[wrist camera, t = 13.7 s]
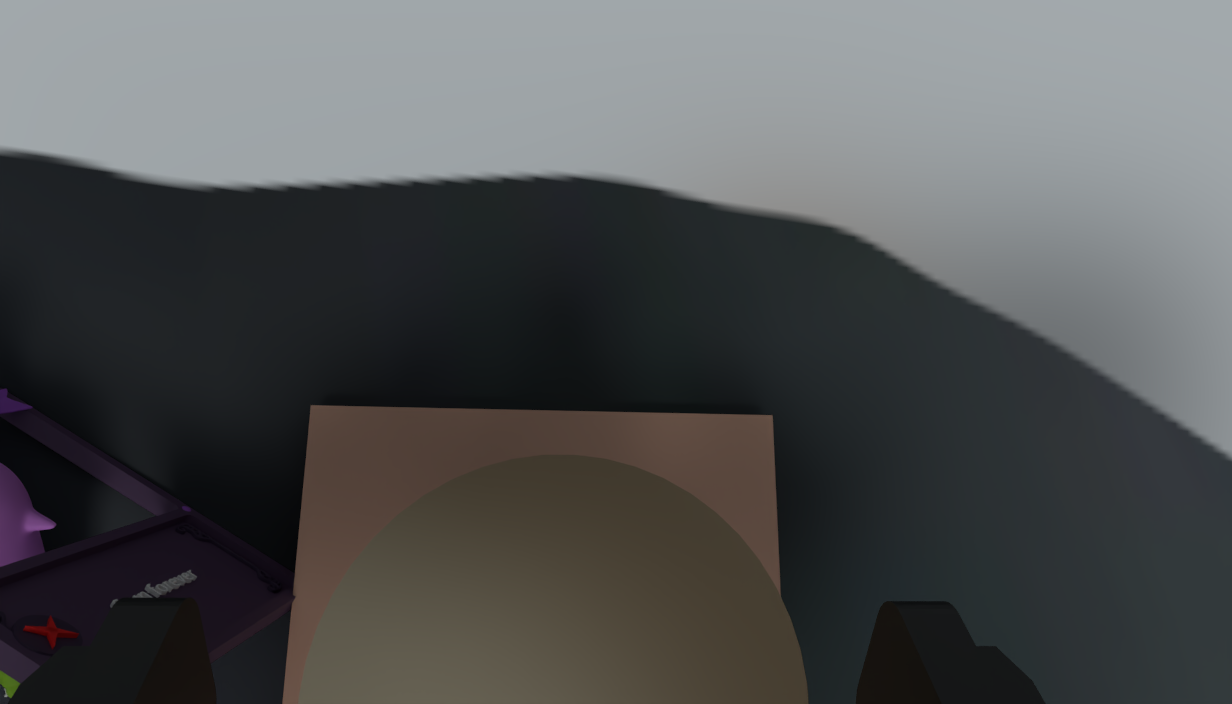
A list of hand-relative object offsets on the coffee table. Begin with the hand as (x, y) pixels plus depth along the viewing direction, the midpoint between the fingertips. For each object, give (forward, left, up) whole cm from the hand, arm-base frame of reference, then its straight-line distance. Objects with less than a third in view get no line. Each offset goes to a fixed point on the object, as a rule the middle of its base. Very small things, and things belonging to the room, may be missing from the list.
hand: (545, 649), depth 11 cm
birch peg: (0, 0, -8) cm, 8 cm away
